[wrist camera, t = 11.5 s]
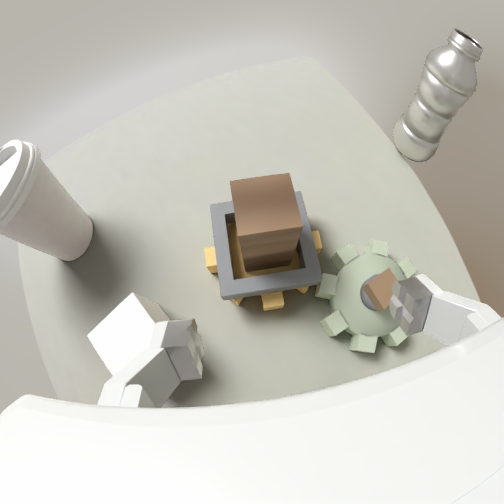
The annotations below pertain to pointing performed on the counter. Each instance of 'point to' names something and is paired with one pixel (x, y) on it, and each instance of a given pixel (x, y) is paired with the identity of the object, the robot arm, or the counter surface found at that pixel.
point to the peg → (266, 220)
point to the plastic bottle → (438, 96)
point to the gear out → (268, 280)
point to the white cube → (126, 331)
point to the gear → (363, 295)
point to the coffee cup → (39, 205)
